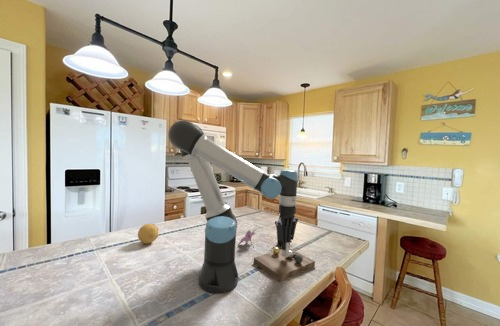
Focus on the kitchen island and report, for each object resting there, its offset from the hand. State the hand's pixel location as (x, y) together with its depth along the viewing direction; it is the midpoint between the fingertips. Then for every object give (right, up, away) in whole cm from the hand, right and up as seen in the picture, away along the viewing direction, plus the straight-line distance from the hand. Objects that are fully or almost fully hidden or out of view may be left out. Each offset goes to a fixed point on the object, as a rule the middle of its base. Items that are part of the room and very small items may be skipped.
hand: (285, 256), depth 96 cm
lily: (-17, -3, +19) cm, 26 cm away
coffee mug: (+4, -4, +23) cm, 23 cm away
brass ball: (-3, 0, +5) cm, 6 cm away
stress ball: (-70, 0, +16) cm, 71 cm away
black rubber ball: (+6, 0, -2) cm, 6 cm away
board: (0, -4, 0) cm, 4 cm away
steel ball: (+2, 0, +2) cm, 3 cm away
